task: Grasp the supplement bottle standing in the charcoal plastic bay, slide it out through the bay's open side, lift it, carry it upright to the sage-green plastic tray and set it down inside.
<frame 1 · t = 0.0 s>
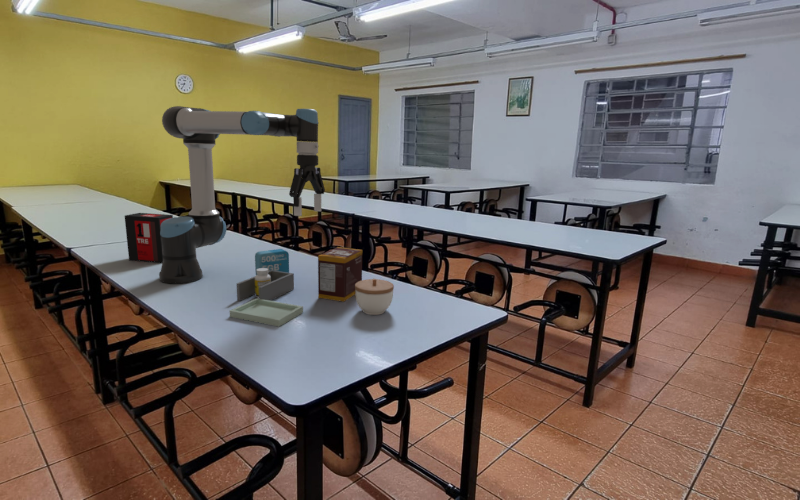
hand: (308, 213, 165), 28 cm above the table, fingers open, 13 cm apart
tray: (267, 314, 141), on the table
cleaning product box: (152, 259, 201), on the table
supplement box: (340, 294, 164), on the table
data package: (272, 281, 176), on the table
bay: (267, 293, 161), on the table
supplement bottle: (263, 296, 158), resting in bay
lidded bowl: (373, 311, 148), on the table
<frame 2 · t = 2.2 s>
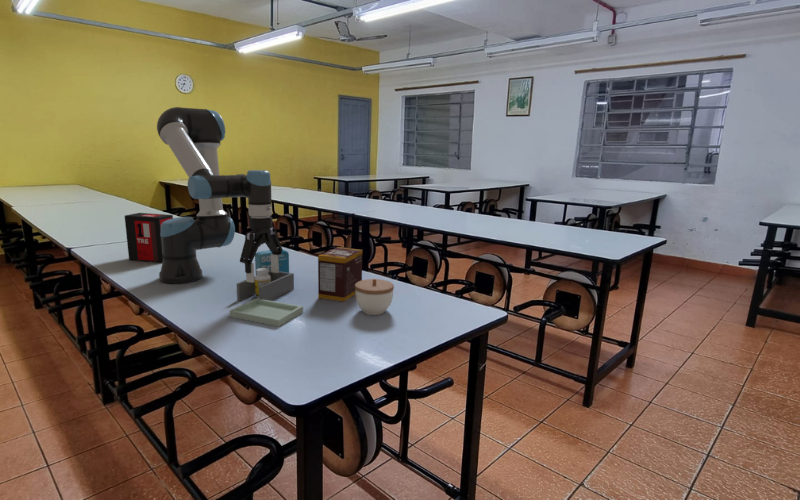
hand: (263, 277, 156), 7 cm above the table, fingers open, 13 cm apart
nothing on the table moved.
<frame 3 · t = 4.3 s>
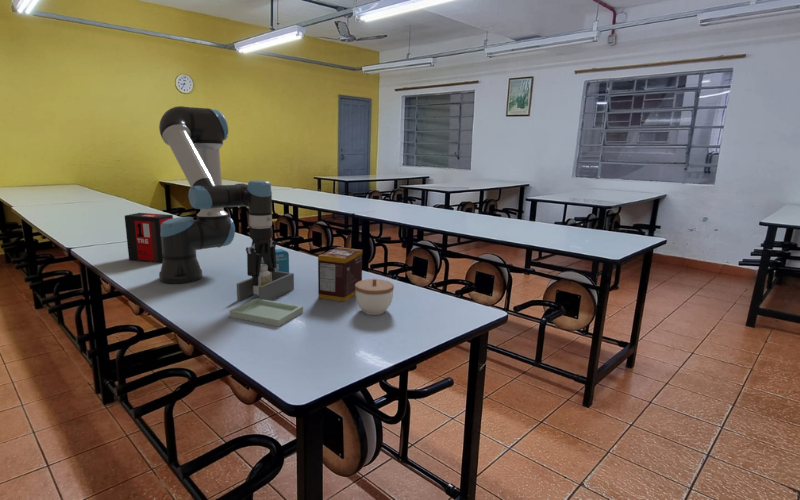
hand: (263, 291, 158), 2 cm above the table, fingers closed on supplement bottle, 5 cm apart
supplement bottle: (262, 292, 158), point 1 cm above the table, touching gripper
everything else where it was.
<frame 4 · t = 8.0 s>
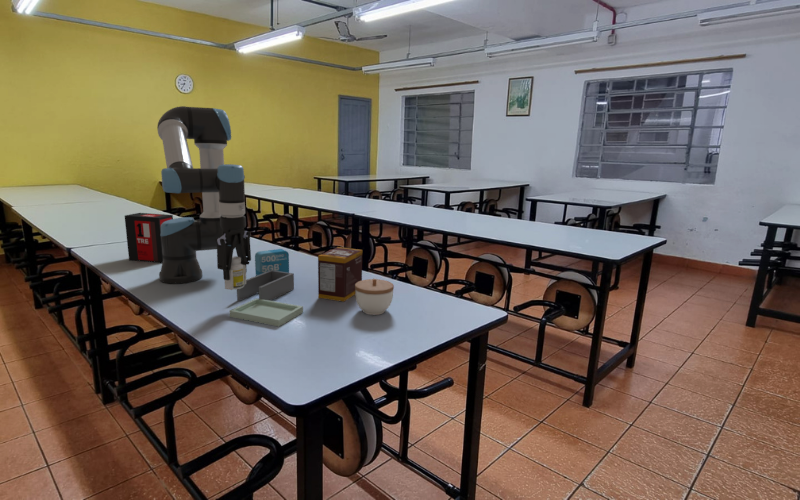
hand: (235, 286, 145), 7 cm above the table, fingers closed on supplement bottle, 5 cm apart
supplement bottle: (235, 287, 145), point 7 cm above the table, touching gripper
everything else where it was.
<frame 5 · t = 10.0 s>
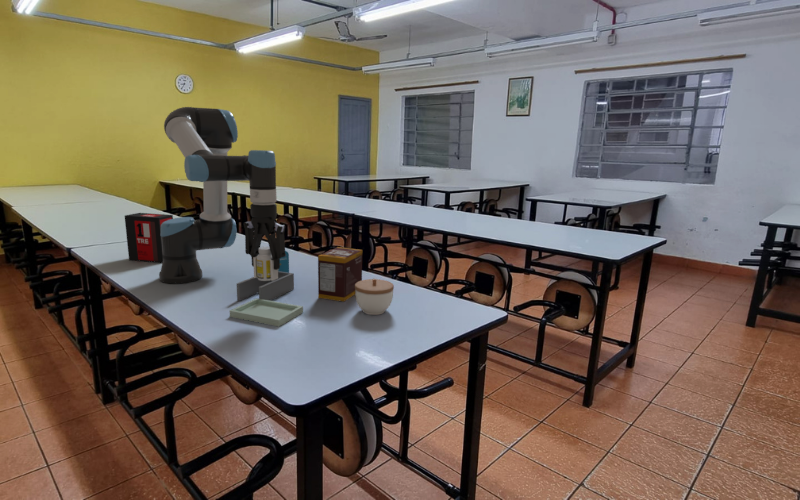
hand: (266, 277, 139), 12 cm above the table, fingers closed on supplement bottle, 5 cm apart
supplement bottle: (266, 279, 139), point 12 cm above the table, touching gripper
everything else where it was.
when the fingers open (3 cm above the table, at t = 11.8 s): supplement bottle drops 2 cm, resting on tray.
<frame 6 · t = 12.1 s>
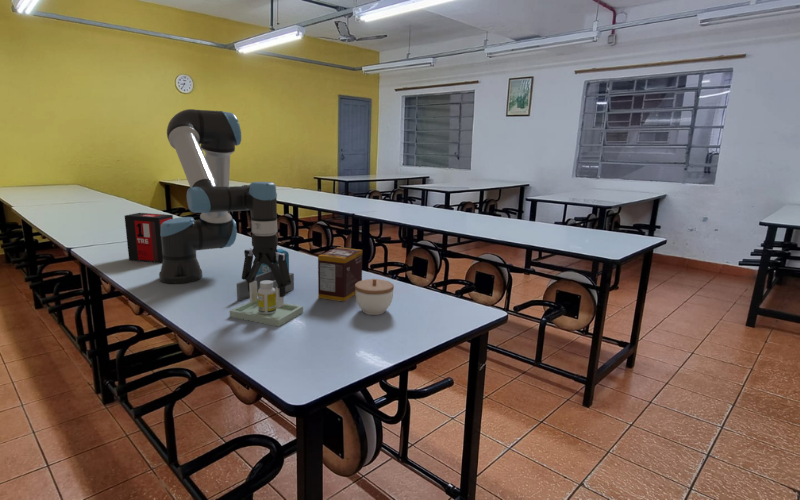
hand: (266, 304, 141), 3 cm above the table, fingers open, 9 cm apart
supplement bottle: (267, 312, 142), point 1 cm above the table, touching tray
everything else where it was.
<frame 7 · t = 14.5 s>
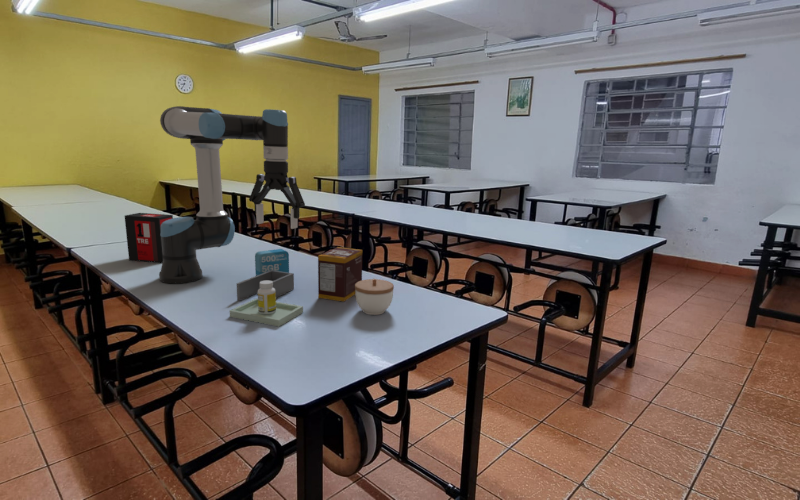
hand: (276, 225, 148), 26 cm above the table, fingers open, 13 cm apart
nothing on the table moved.
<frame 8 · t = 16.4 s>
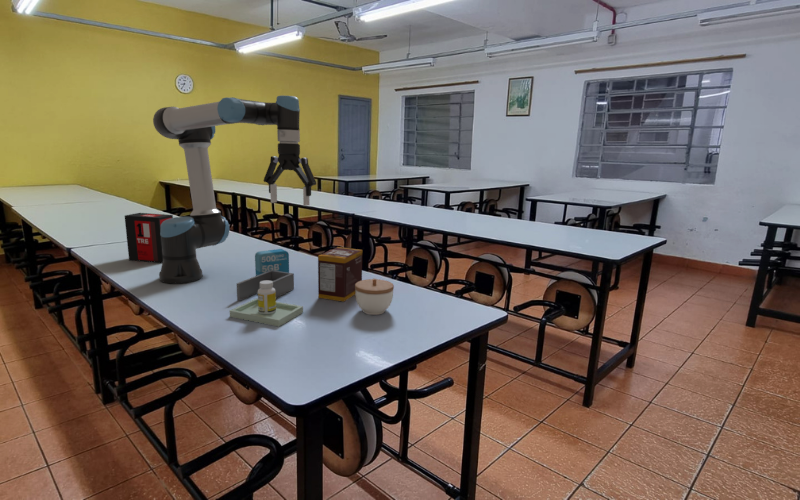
hand: (290, 204, 160), 32 cm above the table, fingers open, 13 cm apart
nothing on the table moved.
at the end: supplement bottle inside the target area on the tray (0.3 cm from its centre), point 0.6 cm above the tray's base; supplement bottle tilted 0°; the gripper is holding nothing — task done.
